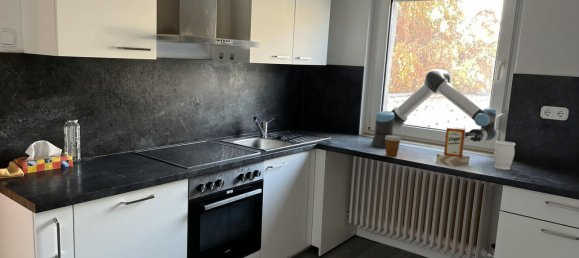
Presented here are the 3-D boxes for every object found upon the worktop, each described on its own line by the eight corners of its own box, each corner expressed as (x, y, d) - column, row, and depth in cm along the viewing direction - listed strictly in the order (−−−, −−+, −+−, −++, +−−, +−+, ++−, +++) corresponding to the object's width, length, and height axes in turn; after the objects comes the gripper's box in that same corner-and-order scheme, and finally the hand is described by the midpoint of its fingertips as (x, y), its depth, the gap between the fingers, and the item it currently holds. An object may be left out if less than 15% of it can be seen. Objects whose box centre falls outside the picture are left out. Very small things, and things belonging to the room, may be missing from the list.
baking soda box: (443, 154, 258) (446, 127, 256) (445, 153, 264) (448, 126, 262) (461, 157, 254) (464, 129, 252) (462, 155, 260) (465, 128, 258)
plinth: (435, 162, 261) (436, 154, 260) (450, 160, 269) (451, 152, 268) (453, 167, 251) (454, 158, 250) (468, 164, 259) (469, 156, 258)
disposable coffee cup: (388, 157, 268) (389, 137, 266) (380, 154, 277) (382, 134, 275) (402, 157, 270) (404, 137, 268) (394, 154, 279) (396, 135, 278)
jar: (495, 165, 262) (498, 140, 259) (514, 168, 255) (517, 142, 253) (489, 168, 254) (492, 141, 251) (509, 171, 247) (513, 144, 245)
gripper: (496, 144, 260) (475, 147, 248) (458, 137, 280) (437, 139, 268) (498, 132, 259) (476, 133, 247) (459, 125, 279) (438, 127, 267)
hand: (456, 136), depth 258 cm, fingers open, 13 cm apart
